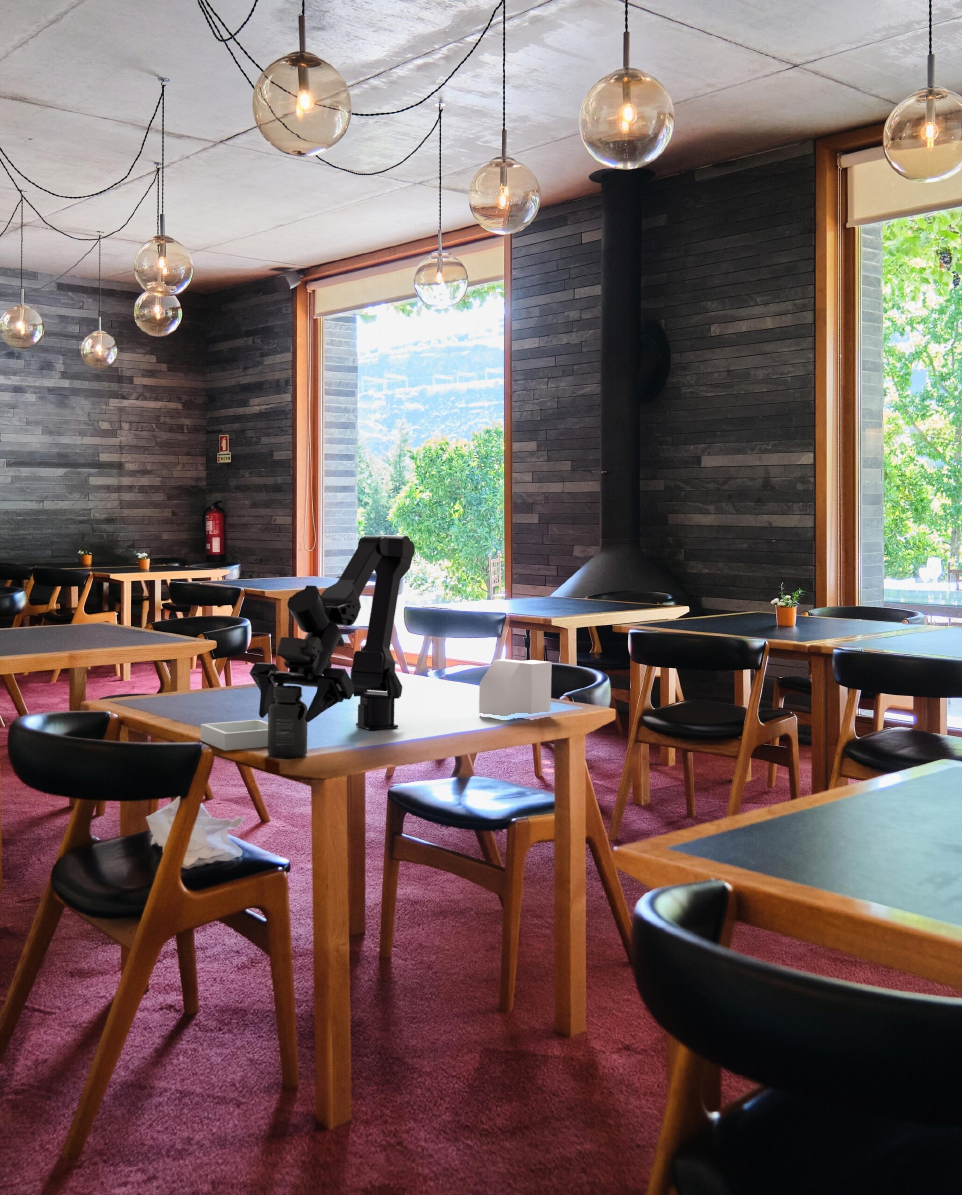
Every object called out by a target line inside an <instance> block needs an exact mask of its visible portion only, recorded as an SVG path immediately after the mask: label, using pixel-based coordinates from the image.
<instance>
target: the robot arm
mask: <svg viewBox="0 0 962 1195" xmlns="http://www.w3.org/2000/svg"><path fill="white" fill-rule="evenodd" d="M415 548H416V547H415V544H414V542H413V541H412V540H411V539H410V537H409V536H408V535H396V534H395V535H394V534H391V535H390V534H389V535H388V534H387V535H386V534H381V535H380V534H379V535H364V536H361V537H360V538H359V539H358V545H357V548H356V549H355V552H353V554H352V556H351V559H350V560H349V562H348V564H347V565H346V566H345V568H344V569H343V572H342V574H341V575H340V577H339V578H338V580H337V582H336V583H333V584H332V585H331V586H328V587H325V589H324V590H323V591H322V592H321V594H320V591H319V588H318V587H317V585H306V586H305V588H304V589H301V590H299V591H297V592H296V593H294V594H293V595H292V596H290V597H289V598H288V600H287V604H286V605H287V608H288V609H289V612H290V613H291V615H292V617H293V619H294V621H295V623H296V624H297V626H298V628H299V629H300V630H301V631H302V633H303V632H304V633H307V634H306V635H305V638H301V637H289V636H288V637H287V636H281V637H280V639H279V642H278V645H277V649H276V656H277V657H280V658H282V659H283V660H285V661H284V662H283V665H284V667H285V668H287V669H289V670H288V671H283V670H279V669H278V667H277V665H276V663H272V662H271V663H269V662H255V663H254V664H253V665H252V667H251V669H250V671H249V675H250V677H252V680H253V681H254V682H255V685H256V686H257V688H258V689H259V691H260V698H259V699H260V700H259V709H258V715H259V717H260V718H261V719H264V718H265V717H266V716H267V715H268V707H269V705H270V704H271V703H272V702H274V701H275V698H274V697H273V695H274V687H276V686H285V684H287V685H296V686H300V687H308V688H316V692H315V694H314V697H313V698H312V701H311V702H310V705H309V707H308V708H307V710H308V711H307V714H306V717H305V720H306V722H307V723H310V722H312V721H313V720H314V719H316V718H317V717H318V716H319V715H321V714H322V713H323V712H325V711H327V710H328V709H330V708H332V707H334V706H335V705H336V704H338V703H342V702H344V700H351V698H352V696H353V697H357V698H358V697H359V703H358V705H357V722H356V723H355V726H357V727H359V728H363V729H366V730H369V731H375V730H384V729H385V730H387V729H396V728H399V725H398V724H395V700H396V699H397V700H398V699H400V698H401V696H402V692H403V685H402V683H401V681H400V679H399V677H398V675H397V673H396V662H395V659H394V657H393V654H392V652H391V643H392V635H393V630H394V623H395V616H396V609H397V602H398V597H399V596H398V595H399V592H400V584H401V580H402V578H403V577H404V576H405V575H406V574H407V572H408V571H409V570H410V569H411V565H412V561H413V558H414V556H415V553H416V549H415ZM374 572H375V573H374ZM373 573H374V574H375V575H376V577H375V584H374V590H373V596H372V602H371V606H370V607H371V608H370V614H369V621H368V626H367V627H368V628H367V633H366V640H365V645H364V646H363V647H361V649H360V650H355V652H354V654H353V658H352V659H353V661H352V666H351V668H350V676H349V673H348V671H347V670H346V669H345V668H343V667H342V668H341V667H332V666H333V664H332V662H331V658H332V656H333V654H334V652H335V650H336V648H337V647H345V640H344V638H343V634H342V631H341V630H340V629H339V627H338V626H343V627H345V626H346V627H351V626H353V625H354V624H355V622H356V620H357V619H358V616H359V613H360V611H361V608H362V603H361V600H360V598H361V596H362V593H363V591H364V589H365V588H366V585H367V583H368V582H369V580H370V579H371V576H372V575H373Z"/></svg>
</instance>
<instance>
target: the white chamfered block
mask: <svg viewBox="0 0 962 1195" xmlns="http://www.w3.org/2000/svg"><path fill="white" fill-rule="evenodd" d="M552 663H553V662H552V661H544V660H537V659H536V660H535V659H529V660H517V659H509V658H508V659H507V658H500V659H494V660H493V661H492V663H491V665H490V666H489V668H488V669H487V670H486V672H485V674H484V675H483V677H482V679H481V680H480V682H479V693H478V694H479V701H478V702H479V703H478V706H479V707H478V714H479V713H483V714H492V715H500V716H508V715H511V714H515V713H528V714H533V713H539V712H549V711H551V705H552V665H553V664H552Z"/></svg>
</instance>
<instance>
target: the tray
mask: <svg viewBox="0 0 962 1195" xmlns="http://www.w3.org/2000/svg"><path fill="white" fill-rule="evenodd" d="M200 741H202V742H204V743H206V744H208V745H210V746H213V747H215V748H218V749H220V750H222V751H225V752H226V751H233V750H234V751H235V750H245V749H255V748H256V749H257V748H268V721H265V720H261V719H248V720H237V721H236V720H235V721H223V722H213V723H211V722H210V723H209V722H208V723H200Z"/></svg>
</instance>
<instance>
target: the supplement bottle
mask: <svg viewBox="0 0 962 1195" xmlns="http://www.w3.org/2000/svg"><path fill="white" fill-rule="evenodd" d="M302 690H303V686H301V685H284V686H276V687H274V695H273V697H274V698H275V701H274V702H272V703H271V704H270V705H269V707H268V713H267V722H268V746H267V754H268V756H269V757H271V758H276V759H298V758H302V757H305V756H306V755H307V754H308V722H306V720H305V717H306V714H307V711H308V705H307V704H306V703H305V702H304V701H302V699H301V698H303V691H302Z"/></svg>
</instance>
